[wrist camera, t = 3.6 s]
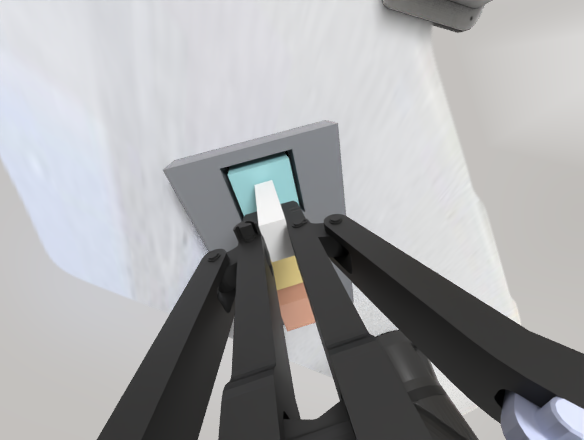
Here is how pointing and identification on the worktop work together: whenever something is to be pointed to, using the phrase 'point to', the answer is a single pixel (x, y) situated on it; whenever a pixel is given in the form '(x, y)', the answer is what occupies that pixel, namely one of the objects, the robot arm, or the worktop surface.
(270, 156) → the teal button
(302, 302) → the terracotta button
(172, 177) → the button panel
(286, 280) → the yellow button
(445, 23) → the emergency button
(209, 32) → the worktop surface
